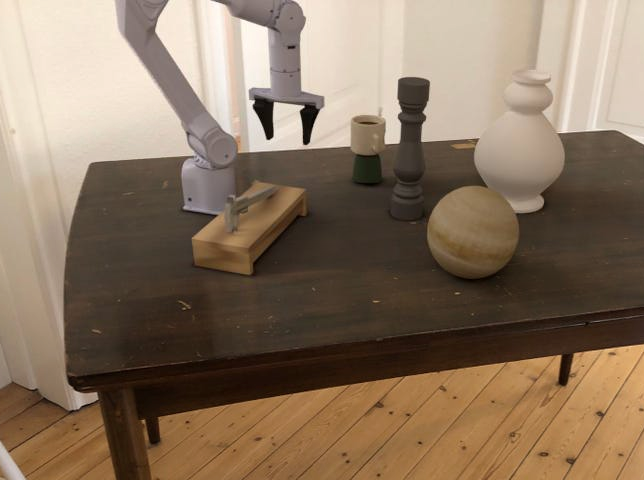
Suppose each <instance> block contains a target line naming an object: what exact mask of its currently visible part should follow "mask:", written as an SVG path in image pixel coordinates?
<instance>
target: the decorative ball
mask: <svg viewBox="0 0 644 480" xmlns="http://www.w3.org/2000/svg"><path fill="white" fill-rule="evenodd" d="M426 232H427V233H426V238H427V243H428V247H429V250H430V252H431V255H432V257H433V259H435V261H436V262H437V264H438V265H439V266H440V267H441V268H442V269H444V270H445V271H447V272H448V273H449V274H450V275H453V276H455V277H458V278H461V279H471V280H477V279H483V278H486V277H487V278H488V277H489V276H491V275H494V274H495V273H497V272H499V271H500V270H501V269H503V268H504V267H505V266H506V265H507V264H508V263H509V261H510V260H511V259H512V257H513V256H514V253H515V252H516V249H517V246H518V244H519V240H520V226H519V219H518V217H517V213H515V211H514V210H513V208H512V206H511V205H510V203H509V202H508V201H507V200H506V199H505V198H504V197H503V196H502V195H501V194H499V193H497V192H496V191H494V190H492V189H489V188H488V187H486V186H481V185H468V186H462V187H459V188H456V189H453V190H452V191H450V192H449V193H447V194H446V195H444V196H443V197H442V198H441V199H440V200H439V201H438V202H437V204H436V205H435V207H434V208H433V209H432V211H431V214H430V216H429V218H428V223H427V231H426Z"/></svg>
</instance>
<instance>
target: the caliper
mask: <svg viewBox="0 0 644 480" xmlns="http://www.w3.org/2000/svg"><path fill="white" fill-rule="evenodd" d="M277 190H278V188H277V187H276V186H273V185H270V186H268V187H266V188H264V189H261V190H259V191H257V192H255V193H253V194H250V195H248V196H241V195H240V196H241V197H240V196H237V198H236V195H237V194H236V195H230V196H227V201H226V204H225V227H226V232H228V233H233V231H237V229H238V222H239V215H240V213H243V214H244V213H245V212H248V207H249V206H251V205H253V204H255V203H257V202H259V201H261V200H263V199H265V198H268V197H270V196H272V195H274V194H276V191H277Z"/></svg>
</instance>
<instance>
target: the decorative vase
mask: <svg viewBox="0 0 644 480" xmlns="http://www.w3.org/2000/svg"><path fill="white" fill-rule="evenodd" d="M510 79H511V80H513V82H511V83H509V85H507V86H506V87H505V88H504V90H503V91H502V100H503V102H504V103H505V105H506V106H507V107H508V108H509V109H507V110H506V111H505V112H504V113H502V114H501V115H500V116H499V117H497V118H496V119H495V120H494V121H493V122H491V124H490V125H489V126H488V127H487V128H486V129H485V130H484V131H483V132H482V134H481V135H480V137H479V139H478V140H477V142H476V145H475V148H474V152H473V161H474V165H475V169H476V170H477V172H478V174H479V175H480V178H481V179H482V181H483V182H484V183H485V185H486V186H487V188H489V189H492V190H494V191H496V192H497V193H499V194H501V195H502V196H503V197H504V198H505V199H506V200H507V201H508V202H509V203H510V205H511V206H512V208H513V210H514V211H515V214H527V213H534V212H537V211H539V210H541V209H542V208H543V206H544V203H545V199H544V198H543V196H542V195H541V194H542V193H543V192H544V191H545V190H546V189H548V188H549V187H550V186H552V184H553V183H554V182H555V181H556V180H557V179H558V178H559V177H560V175H562V172H563V169H564V166H565V160H566V157H565V156H566V155H565V153H566V152H565V148H564V145H563V142H562V140H561V137H560V136H559V134H558V132H557V131H556V129H555V127H554V126H553V125H552V122H551V121H550V120H549V119H548V117H547V116H546V115H545V114H544V113H543V112H544V111H546V109H548V108H549V107H550V106H551V105H552V103H553V101H554V94H553V92H552V90H551V89H550V88H549V87H548V85H546V84H548V83H550V82H551V81H552V75H551V73H548V72H547V71H543V70H538V69H528V68H520V69H513V70H512V71H511V72H510Z"/></svg>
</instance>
